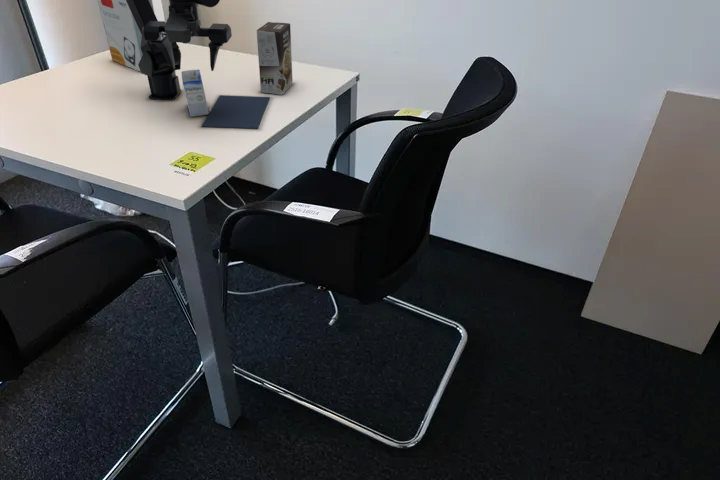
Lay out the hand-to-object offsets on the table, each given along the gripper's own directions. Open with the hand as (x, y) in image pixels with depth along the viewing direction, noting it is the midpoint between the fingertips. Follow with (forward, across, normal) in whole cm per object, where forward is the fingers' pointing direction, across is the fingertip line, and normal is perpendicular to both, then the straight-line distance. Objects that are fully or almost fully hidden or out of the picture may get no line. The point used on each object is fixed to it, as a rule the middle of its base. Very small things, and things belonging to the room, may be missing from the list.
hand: (193, 69), depth 126 cm
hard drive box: (+10, -26, +32) cm, 42 cm away
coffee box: (+10, +17, +17) cm, 26 cm away
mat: (+10, +10, 0) cm, 14 cm away
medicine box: (+10, 0, 0) cm, 10 cm away
